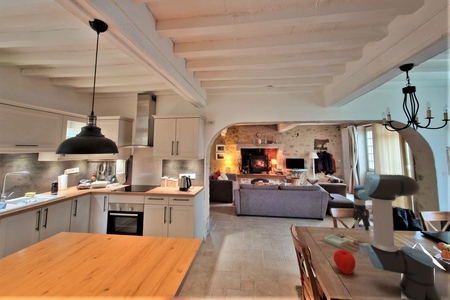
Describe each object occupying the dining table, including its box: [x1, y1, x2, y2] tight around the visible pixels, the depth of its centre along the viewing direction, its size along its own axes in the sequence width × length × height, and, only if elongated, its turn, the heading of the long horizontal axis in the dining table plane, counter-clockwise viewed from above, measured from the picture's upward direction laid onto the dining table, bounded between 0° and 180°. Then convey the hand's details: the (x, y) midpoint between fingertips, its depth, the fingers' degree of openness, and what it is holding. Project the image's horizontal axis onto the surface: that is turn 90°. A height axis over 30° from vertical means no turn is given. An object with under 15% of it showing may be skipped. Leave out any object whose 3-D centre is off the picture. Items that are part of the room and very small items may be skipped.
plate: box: [343, 235, 359, 245], centre depth 152 cm, size 8×8×2 cm
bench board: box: [320, 231, 364, 255], centre depth 151 cm, size 28×26×6 cm
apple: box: [333, 249, 356, 275], centre depth 114 cm, size 12×12×13 cm
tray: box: [323, 234, 348, 249], centre depth 151 cm, size 12×13×3 cm
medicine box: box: [359, 242, 371, 257], centre depth 132 cm, size 8×4×9 cm, turn 92°
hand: (361, 231), depth 141 cm, fingers open, 13 cm apart
